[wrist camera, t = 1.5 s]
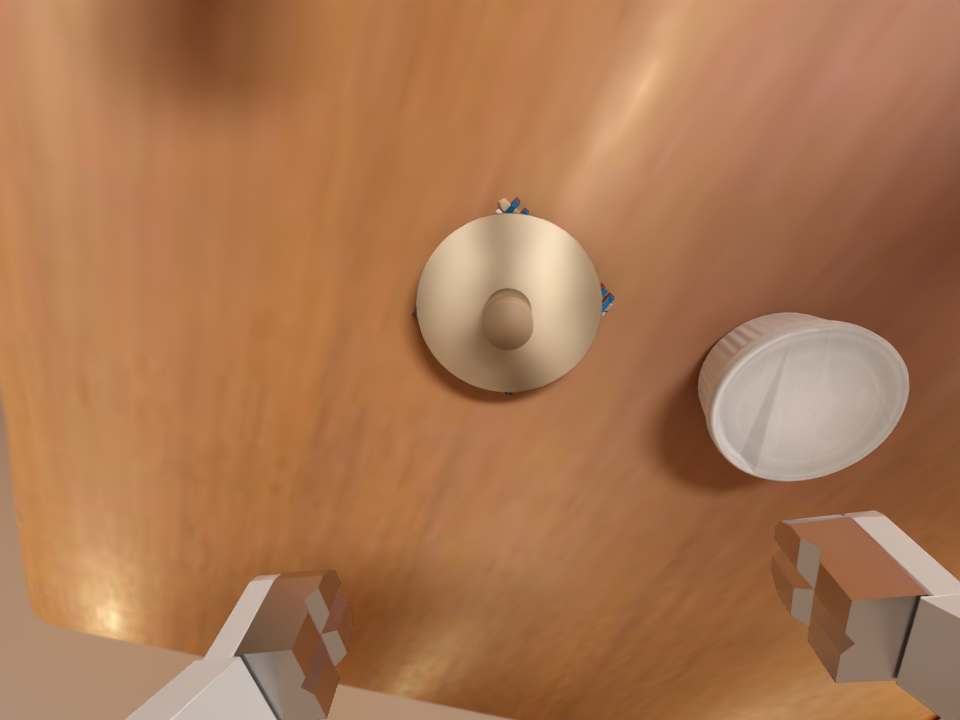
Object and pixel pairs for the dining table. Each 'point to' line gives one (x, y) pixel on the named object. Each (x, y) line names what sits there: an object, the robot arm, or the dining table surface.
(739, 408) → the ramekin
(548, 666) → the dining table surface
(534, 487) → the dining table surface
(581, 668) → the dining table surface
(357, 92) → the dining table surface
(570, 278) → the drop lid
